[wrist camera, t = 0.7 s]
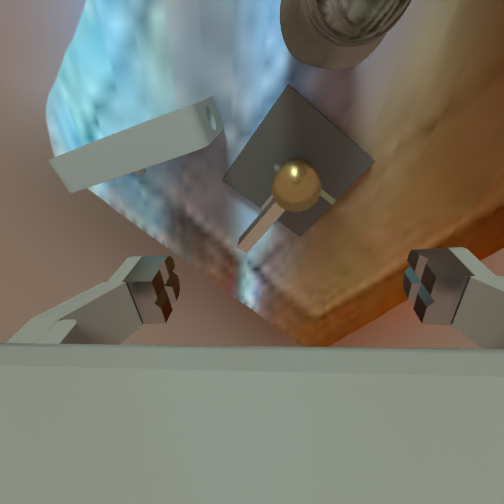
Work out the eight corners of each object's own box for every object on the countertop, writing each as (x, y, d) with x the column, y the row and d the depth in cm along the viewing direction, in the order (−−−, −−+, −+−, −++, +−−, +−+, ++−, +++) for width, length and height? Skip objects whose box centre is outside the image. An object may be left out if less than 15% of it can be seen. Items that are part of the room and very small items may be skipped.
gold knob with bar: (288, 144, 41) (288, 151, 38) (332, 179, 44) (335, 189, 40) (224, 226, 50) (219, 237, 47) (263, 252, 52) (261, 265, 49)
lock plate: (288, 83, 43) (288, 86, 38) (371, 158, 47) (381, 169, 42) (224, 176, 52) (217, 188, 47) (299, 231, 56) (300, 247, 51)
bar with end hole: (113, 171, 54) (69, 199, 43) (95, 140, 51) (42, 162, 40) (227, 132, 48) (209, 153, 37) (214, 94, 45) (190, 105, 34)
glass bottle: (347, 71, 41) (424, 82, 18) (277, 62, 41) (263, 61, 18) (371, -22, 36) (525, -177, 12) (290, -32, 36) (294, -204, 13)
